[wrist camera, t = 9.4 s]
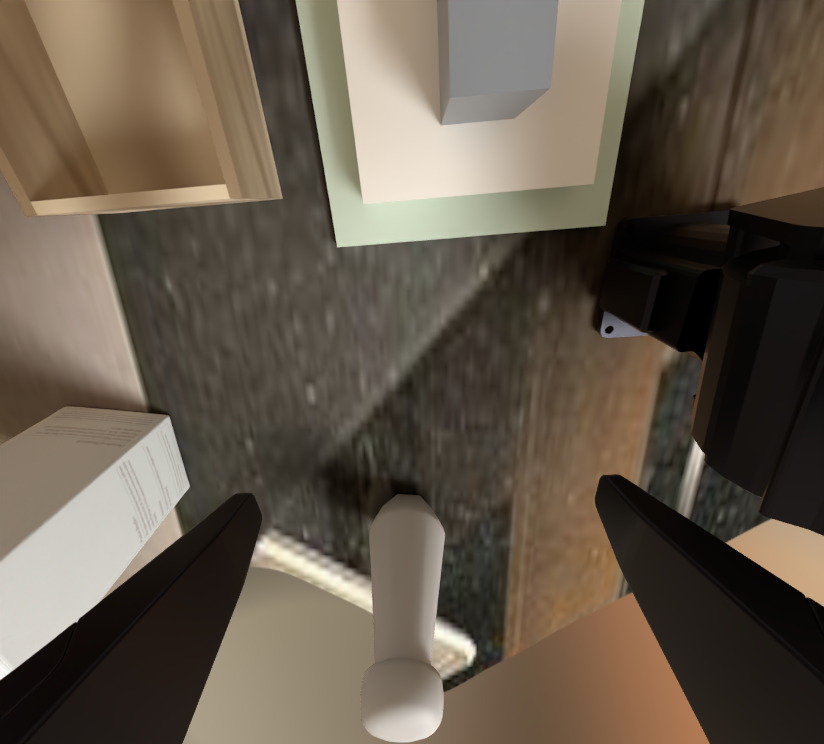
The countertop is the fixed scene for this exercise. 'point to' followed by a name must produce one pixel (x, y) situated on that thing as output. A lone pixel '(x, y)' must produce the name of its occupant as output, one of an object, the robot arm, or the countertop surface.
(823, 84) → the countertop surface
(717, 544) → the robot arm
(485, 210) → the mat
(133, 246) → the countertop surface
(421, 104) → the lid
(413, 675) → the salt shaker
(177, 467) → the supplement box
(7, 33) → the box
